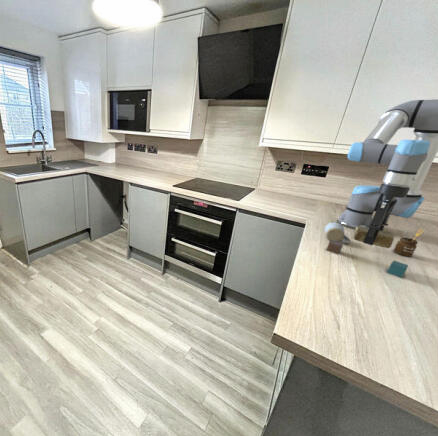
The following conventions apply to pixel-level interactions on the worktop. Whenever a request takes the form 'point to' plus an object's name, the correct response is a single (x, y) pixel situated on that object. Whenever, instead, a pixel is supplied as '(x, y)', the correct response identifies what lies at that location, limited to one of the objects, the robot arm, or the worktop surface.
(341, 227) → the ceramic mug
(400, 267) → the teal block
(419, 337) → the worktop surface
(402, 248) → the utensil holder
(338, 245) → the walnut block
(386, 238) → the stone block
